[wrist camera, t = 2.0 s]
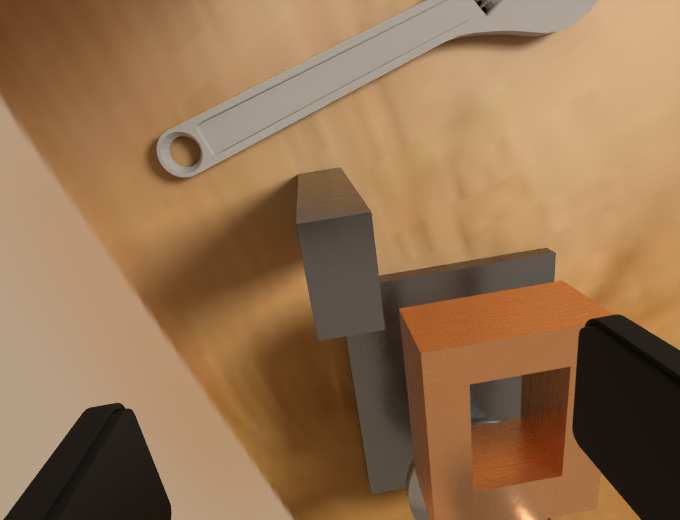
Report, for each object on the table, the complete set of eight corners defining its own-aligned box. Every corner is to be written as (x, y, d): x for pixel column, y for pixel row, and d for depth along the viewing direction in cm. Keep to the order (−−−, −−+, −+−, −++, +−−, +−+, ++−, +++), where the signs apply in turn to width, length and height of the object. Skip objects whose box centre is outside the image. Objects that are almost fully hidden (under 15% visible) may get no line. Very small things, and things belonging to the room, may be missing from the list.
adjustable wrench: (181, 183, 23) (172, 188, 22) (121, 69, 21) (106, 66, 20) (593, 15, 22) (617, 7, 20) (576, -125, 20) (601, -146, 18)
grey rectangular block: (298, 174, 23) (295, 224, 13) (340, 167, 23) (371, 211, 13) (311, 246, 25) (318, 341, 15) (350, 240, 25) (385, 329, 15)
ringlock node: (335, 272, 26) (375, 466, 12) (547, 237, 26) (829, 383, 12) (369, 483, 32) (420, 767, 18) (537, 452, 33) (711, 706, 19)
